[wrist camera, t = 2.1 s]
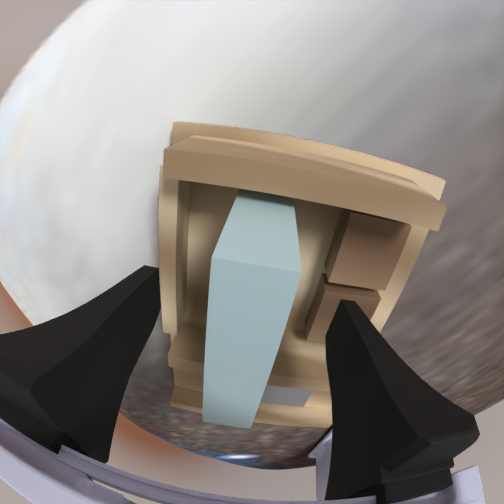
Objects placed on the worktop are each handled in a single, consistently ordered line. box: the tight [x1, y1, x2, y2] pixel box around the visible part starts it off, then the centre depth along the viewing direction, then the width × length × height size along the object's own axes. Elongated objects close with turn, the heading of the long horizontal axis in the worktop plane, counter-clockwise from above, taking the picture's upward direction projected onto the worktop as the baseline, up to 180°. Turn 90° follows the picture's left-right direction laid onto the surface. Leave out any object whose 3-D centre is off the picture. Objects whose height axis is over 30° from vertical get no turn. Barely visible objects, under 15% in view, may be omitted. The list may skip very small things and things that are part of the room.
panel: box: [202, 189, 302, 429], centre depth 11 cm, size 8×2×7 cm, turn 172°
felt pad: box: [260, 385, 313, 407], centre depth 19 cm, size 6×8×1 cm
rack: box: [159, 122, 447, 428], centre depth 15 cm, size 20×13×4 cm, turn 172°
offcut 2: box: [305, 273, 381, 343], centre depth 15 cm, size 4×3×2 cm
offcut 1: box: [325, 208, 412, 291], centre depth 13 cm, size 4×3×2 cm
